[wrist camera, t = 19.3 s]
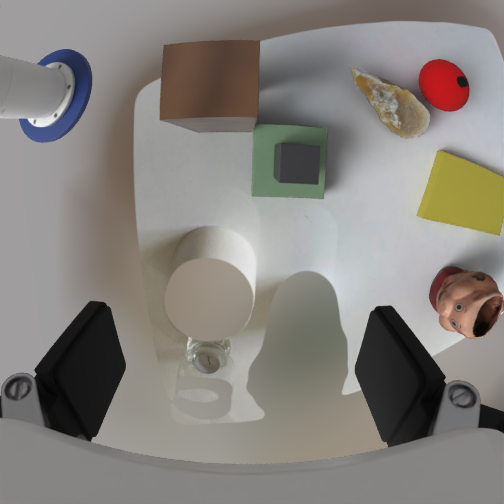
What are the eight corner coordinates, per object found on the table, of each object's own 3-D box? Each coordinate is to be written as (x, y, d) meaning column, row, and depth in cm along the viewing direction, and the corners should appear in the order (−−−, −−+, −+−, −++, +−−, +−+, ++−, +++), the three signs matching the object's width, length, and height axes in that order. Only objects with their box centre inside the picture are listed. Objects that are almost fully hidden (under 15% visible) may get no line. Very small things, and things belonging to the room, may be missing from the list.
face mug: (485, 255, 46) (526, 281, 33) (473, 303, 50) (507, 335, 37) (420, 260, 46) (464, 295, 33) (409, 316, 50) (442, 358, 37)
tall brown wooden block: (197, 132, 38) (159, 120, 20) (198, 87, 36) (163, 44, 18) (252, 132, 39) (258, 117, 21) (254, 87, 36) (260, 40, 18)
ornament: (411, 109, 37) (447, 104, 27) (405, 60, 34) (438, 46, 24) (450, 116, 37) (486, 115, 27) (444, 70, 34) (478, 61, 24)
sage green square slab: (251, 192, 42) (251, 196, 38) (253, 125, 38) (253, 123, 35) (317, 195, 42) (323, 199, 39) (321, 129, 38) (327, 128, 35)
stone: (434, 140, 32) (355, 74, 29) (407, 146, 39) (333, 91, 35) (441, 106, 32) (368, 44, 29) (416, 115, 38) (347, 61, 35)
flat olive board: (503, 178, 40) (427, 147, 39) (510, 180, 38) (434, 148, 37) (493, 232, 44) (416, 215, 43) (499, 235, 42) (422, 218, 41)
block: (273, 177, 37) (279, 183, 31) (274, 144, 36) (280, 142, 29) (306, 178, 38) (318, 185, 31) (307, 146, 36) (320, 145, 29)
